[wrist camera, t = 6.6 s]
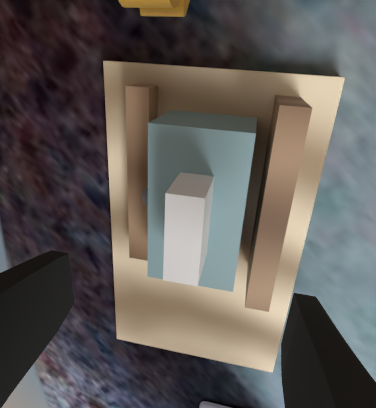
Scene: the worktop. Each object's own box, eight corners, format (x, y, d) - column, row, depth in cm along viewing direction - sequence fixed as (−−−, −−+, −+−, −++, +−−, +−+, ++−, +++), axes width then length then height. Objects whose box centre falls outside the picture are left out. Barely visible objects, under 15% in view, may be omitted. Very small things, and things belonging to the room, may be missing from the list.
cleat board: (272, 361, 24) (274, 429, 20) (121, 329, 26) (93, 385, 22) (340, 76, 16) (372, 83, 11) (111, 60, 18) (60, 60, 13)
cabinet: (238, 249, 20) (228, 329, 14) (155, 236, 21) (113, 306, 15) (256, 117, 16) (254, 149, 11) (157, 108, 17) (104, 133, 11)
